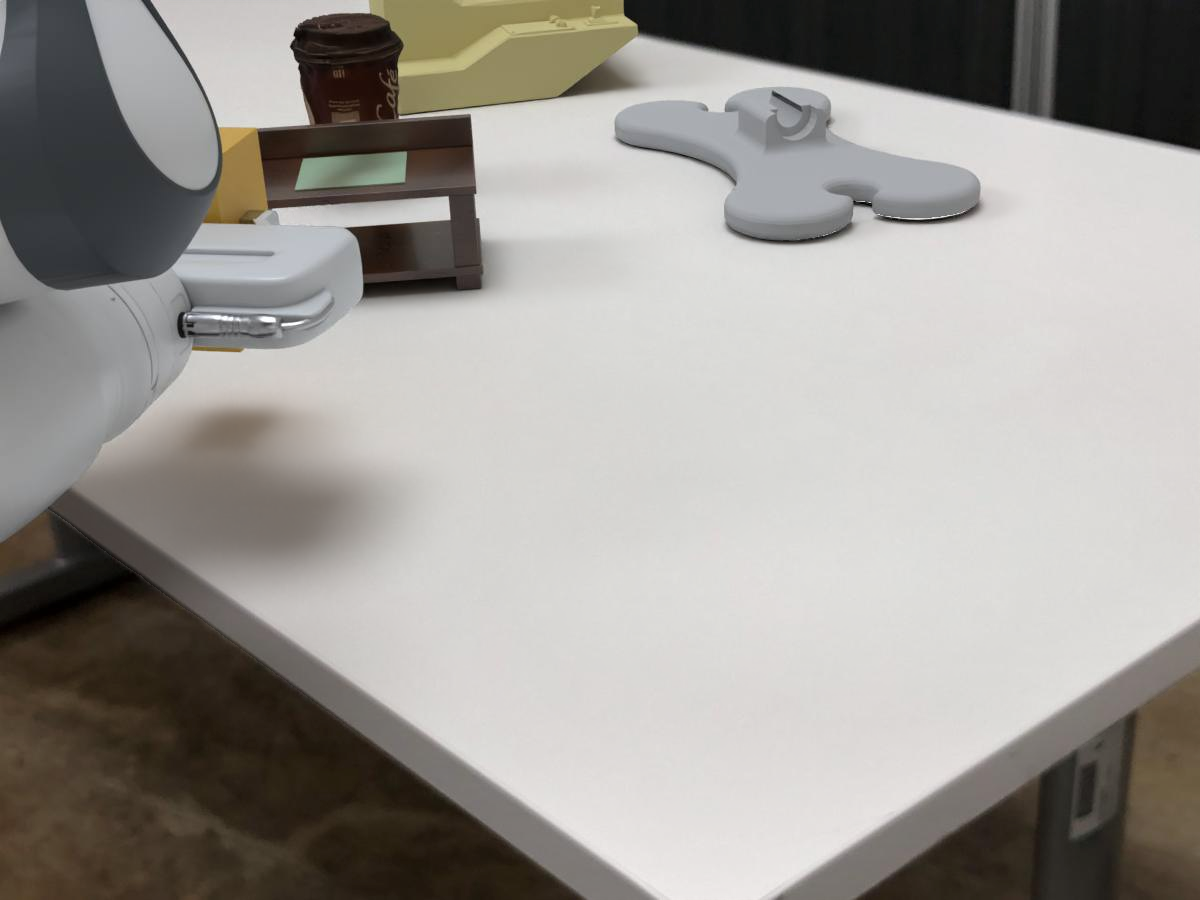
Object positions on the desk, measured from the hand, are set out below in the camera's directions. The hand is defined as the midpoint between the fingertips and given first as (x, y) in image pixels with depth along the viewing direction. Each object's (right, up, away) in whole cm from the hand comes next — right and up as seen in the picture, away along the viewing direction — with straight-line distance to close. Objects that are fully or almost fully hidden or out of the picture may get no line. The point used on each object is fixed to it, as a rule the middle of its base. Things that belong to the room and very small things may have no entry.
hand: (207, 222), depth 81 cm
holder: (+35, +10, +42) cm, 56 cm away
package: (0, -5, +2) cm, 6 cm away
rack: (+4, 0, +25) cm, 25 cm away
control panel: (+11, +24, +72) cm, 77 cm away
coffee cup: (+2, +9, +42) cm, 43 cm away
